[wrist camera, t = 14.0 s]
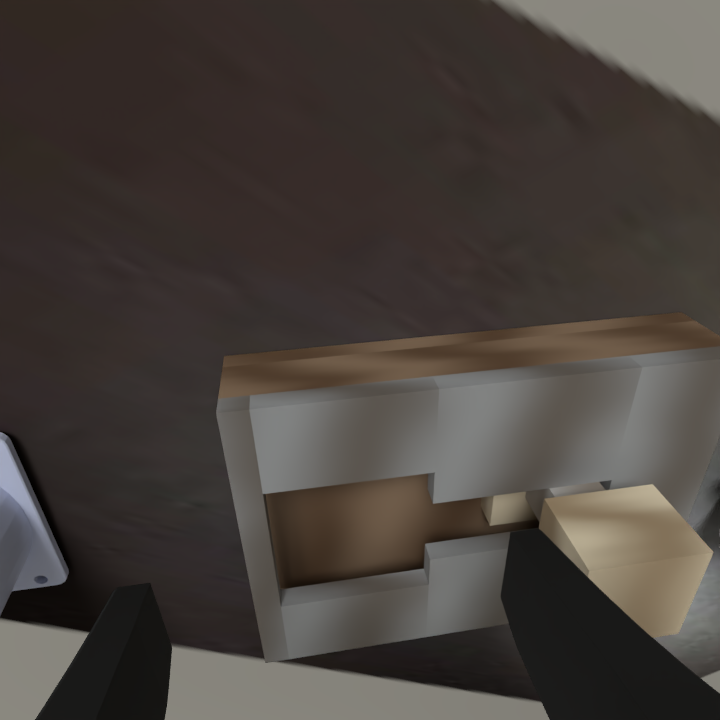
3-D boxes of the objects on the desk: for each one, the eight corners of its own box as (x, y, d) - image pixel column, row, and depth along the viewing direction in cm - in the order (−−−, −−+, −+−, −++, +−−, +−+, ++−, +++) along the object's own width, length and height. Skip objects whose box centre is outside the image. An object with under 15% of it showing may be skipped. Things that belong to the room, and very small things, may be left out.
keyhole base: (265, 590, 26) (265, 662, 23) (224, 356, 20) (216, 413, 16) (614, 539, 28) (657, 599, 25) (681, 312, 22) (750, 355, 18)
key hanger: (480, 505, 24) (553, 661, 18) (490, 418, 22) (579, 564, 16) (581, 492, 25) (685, 638, 19) (601, 406, 22) (730, 541, 16)
